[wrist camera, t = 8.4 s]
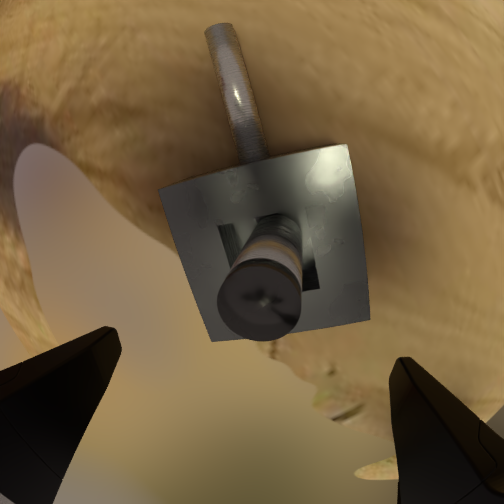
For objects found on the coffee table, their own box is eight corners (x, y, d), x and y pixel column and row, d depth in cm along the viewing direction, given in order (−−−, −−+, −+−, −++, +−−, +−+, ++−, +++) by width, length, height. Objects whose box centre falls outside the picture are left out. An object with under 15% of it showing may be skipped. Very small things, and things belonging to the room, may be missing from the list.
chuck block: (359, 287, 20) (370, 319, 16) (225, 309, 22) (211, 341, 18) (297, 15, 14) (297, -12, 10) (153, 60, 16) (123, 46, 12)
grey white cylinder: (303, 216, 17) (304, 271, 10) (301, 265, 19) (298, 344, 11) (251, 214, 18) (214, 265, 11) (251, 262, 19) (219, 337, 12)
